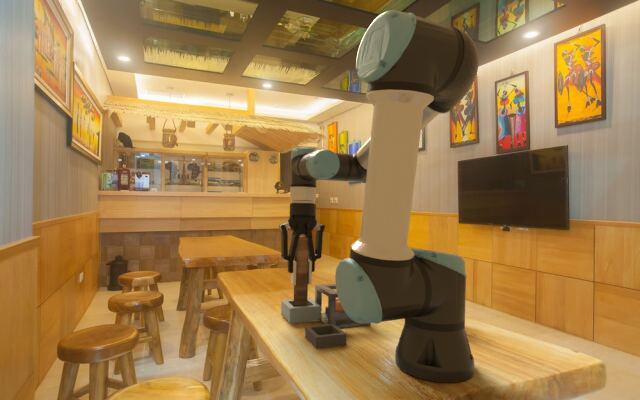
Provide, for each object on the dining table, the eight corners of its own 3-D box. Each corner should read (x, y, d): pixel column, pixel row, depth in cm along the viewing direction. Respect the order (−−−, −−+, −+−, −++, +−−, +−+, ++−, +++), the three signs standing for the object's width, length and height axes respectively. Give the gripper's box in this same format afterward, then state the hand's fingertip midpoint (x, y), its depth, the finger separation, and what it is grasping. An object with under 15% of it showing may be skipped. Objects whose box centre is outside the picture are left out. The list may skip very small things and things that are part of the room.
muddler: (309, 307, 101) (310, 237, 101) (295, 309, 99) (297, 237, 100) (304, 304, 104) (306, 236, 105) (291, 305, 103) (293, 236, 103)
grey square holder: (320, 320, 99) (321, 306, 99) (289, 323, 96) (290, 308, 96) (310, 311, 107) (310, 298, 107) (281, 314, 104) (281, 300, 104)
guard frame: (370, 324, 96) (370, 291, 96) (329, 329, 92) (330, 294, 92) (350, 312, 107) (351, 282, 107) (313, 316, 103) (314, 284, 103)
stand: (346, 344, 82) (346, 333, 82) (315, 348, 79) (316, 337, 79) (333, 333, 89) (333, 323, 89) (305, 337, 86) (305, 326, 86)
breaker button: (351, 318, 98) (351, 302, 98) (337, 319, 97) (337, 303, 97) (344, 313, 102) (345, 298, 102) (330, 315, 101) (331, 299, 101)
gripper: (325, 203, 109) (323, 279, 108) (270, 201, 103) (268, 282, 102) (335, 203, 102) (333, 284, 101) (277, 201, 96) (275, 288, 95)
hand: (301, 283), depth 102 cm, fingers closed on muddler, 4 cm apart
